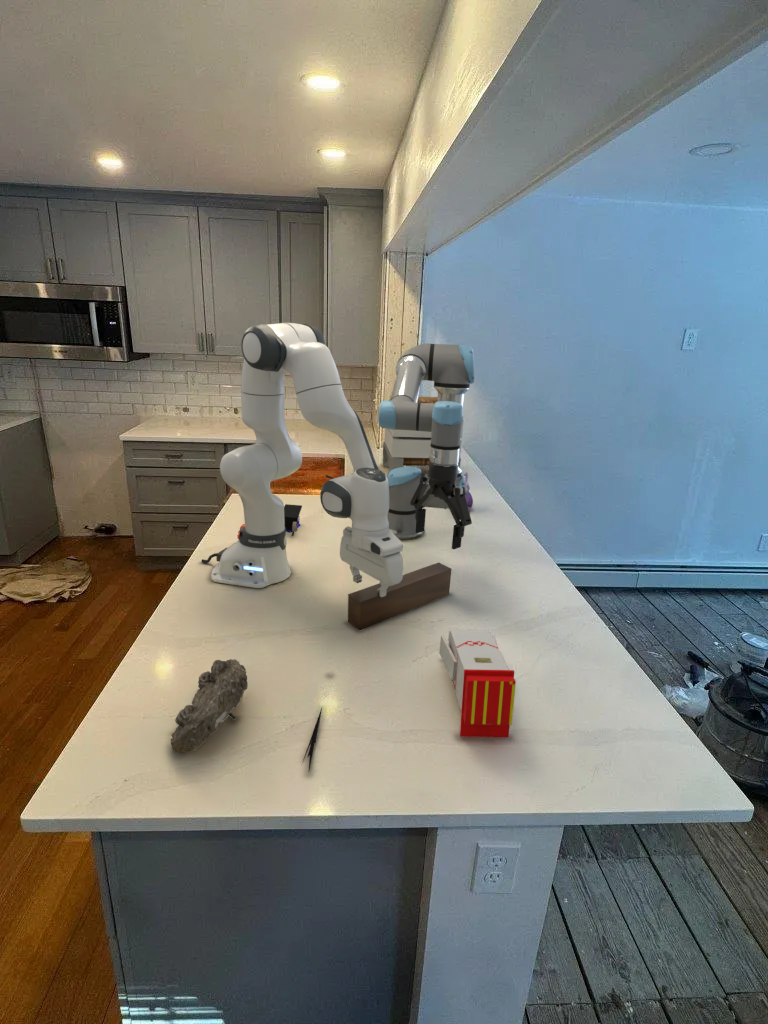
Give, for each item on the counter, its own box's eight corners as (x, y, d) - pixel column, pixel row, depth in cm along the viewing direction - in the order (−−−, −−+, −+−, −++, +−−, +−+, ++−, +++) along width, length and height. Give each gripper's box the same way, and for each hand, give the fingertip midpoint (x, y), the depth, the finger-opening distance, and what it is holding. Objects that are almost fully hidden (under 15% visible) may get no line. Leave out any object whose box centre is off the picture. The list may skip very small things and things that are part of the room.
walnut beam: (347, 622, 143) (348, 594, 140) (436, 587, 162) (438, 562, 160) (359, 631, 139) (360, 602, 136) (449, 594, 159) (451, 568, 156)
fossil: (195, 660, 117) (247, 628, 112) (227, 691, 120) (279, 661, 115) (146, 746, 98) (206, 711, 93) (185, 779, 101) (245, 748, 96)
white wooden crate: (381, 463, 289) (385, 382, 275) (444, 464, 292) (450, 384, 279) (389, 482, 257) (393, 392, 243) (459, 483, 261) (467, 394, 247)
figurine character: (298, 542, 192) (303, 521, 206) (297, 522, 189) (302, 503, 202) (278, 541, 192) (284, 521, 205) (277, 521, 189) (283, 502, 202)
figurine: (459, 514, 221) (463, 477, 216) (445, 506, 229) (448, 470, 224) (479, 511, 225) (483, 475, 220) (464, 503, 234) (467, 468, 228)
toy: (489, 613, 130) (525, 677, 101) (485, 667, 133) (518, 744, 104) (437, 612, 130) (457, 676, 101) (434, 666, 133) (453, 743, 103)
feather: (331, 679, 122) (336, 673, 122) (307, 777, 96) (313, 769, 95) (324, 675, 122) (329, 669, 121) (298, 772, 95) (304, 764, 95)
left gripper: (333, 526, 141) (334, 577, 145) (387, 552, 126) (386, 608, 131) (353, 521, 145) (353, 571, 149) (408, 546, 130) (406, 599, 134)
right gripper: (400, 454, 152) (396, 528, 159) (470, 477, 134) (462, 558, 141) (420, 451, 156) (415, 522, 164) (491, 472, 139) (482, 551, 146)
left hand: (369, 588), depth 140 cm, fingers open, 8 cm apart
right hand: (437, 539), depth 153 cm, fingers open, 13 cm apart
